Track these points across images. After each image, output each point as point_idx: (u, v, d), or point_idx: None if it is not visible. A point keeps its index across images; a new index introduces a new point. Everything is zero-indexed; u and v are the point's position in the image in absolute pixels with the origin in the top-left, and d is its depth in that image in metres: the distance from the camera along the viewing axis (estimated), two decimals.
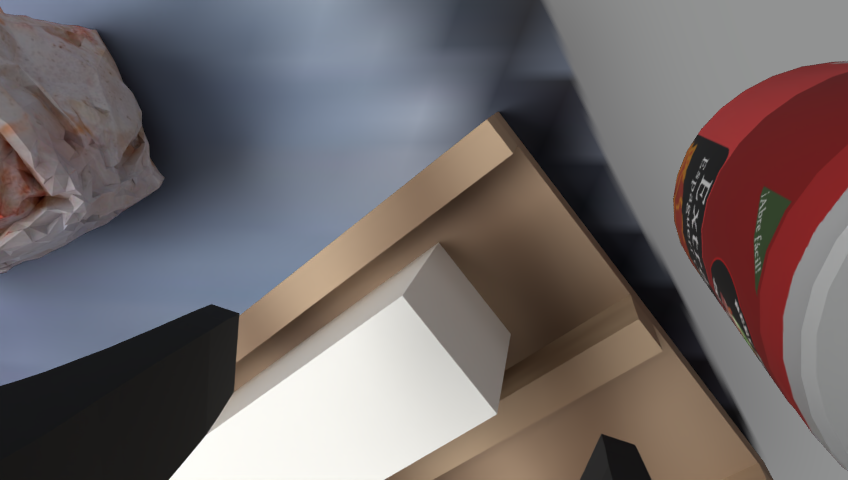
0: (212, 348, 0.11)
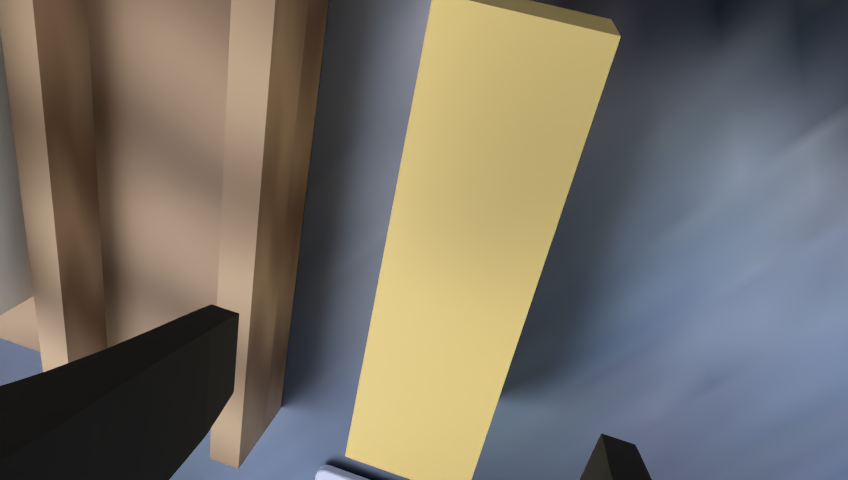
0: (212, 348, 0.11)
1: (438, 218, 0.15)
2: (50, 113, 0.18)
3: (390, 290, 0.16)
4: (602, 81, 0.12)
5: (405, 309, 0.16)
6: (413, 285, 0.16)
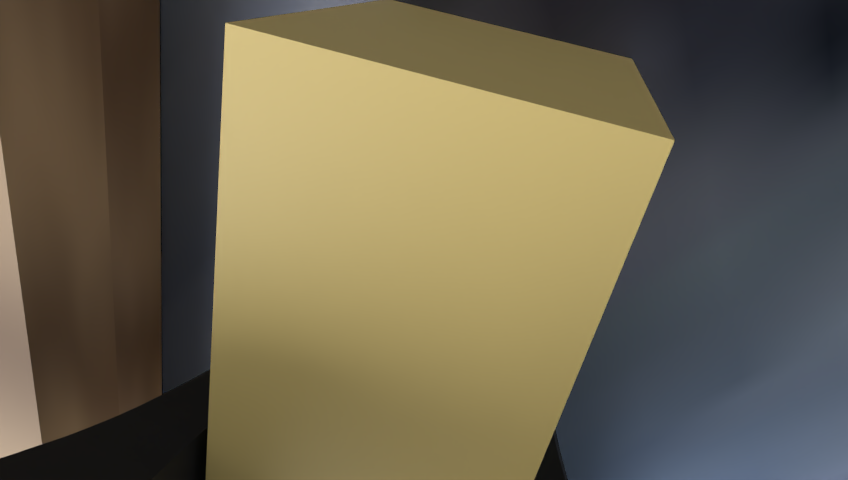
0: None
1: (293, 461, 0.07)
2: None
3: None
4: (625, 238, 0.05)
5: None
6: None
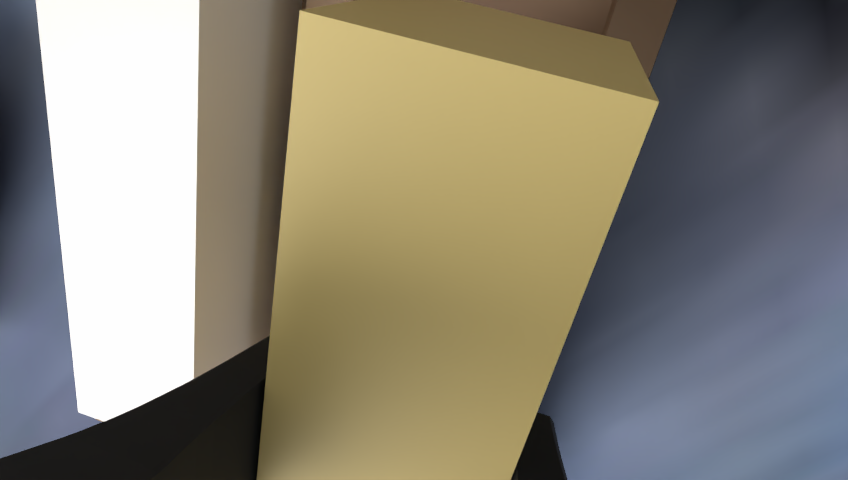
0: None
1: (341, 383, 0.09)
2: None
3: (277, 474, 0.10)
4: (621, 182, 0.06)
5: None
6: (311, 472, 0.10)
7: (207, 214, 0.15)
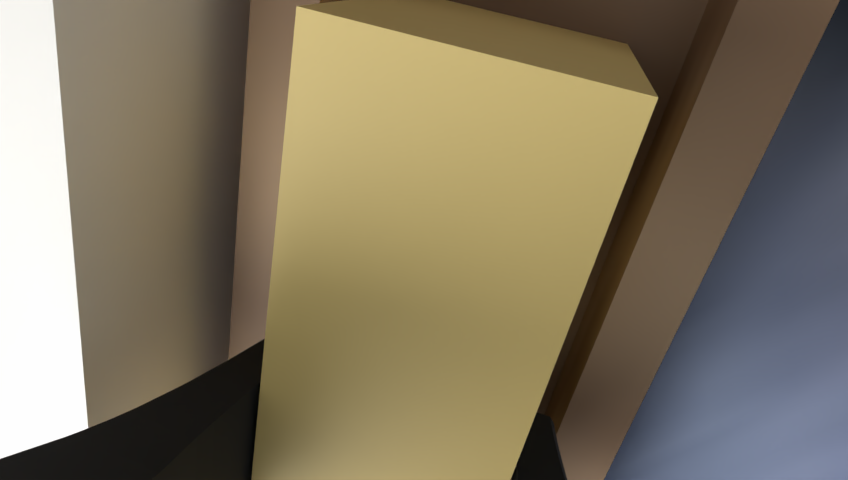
0: None
1: (337, 385, 0.09)
2: None
3: None
4: (620, 179, 0.06)
5: None
6: (306, 477, 0.10)
7: (103, 332, 0.10)
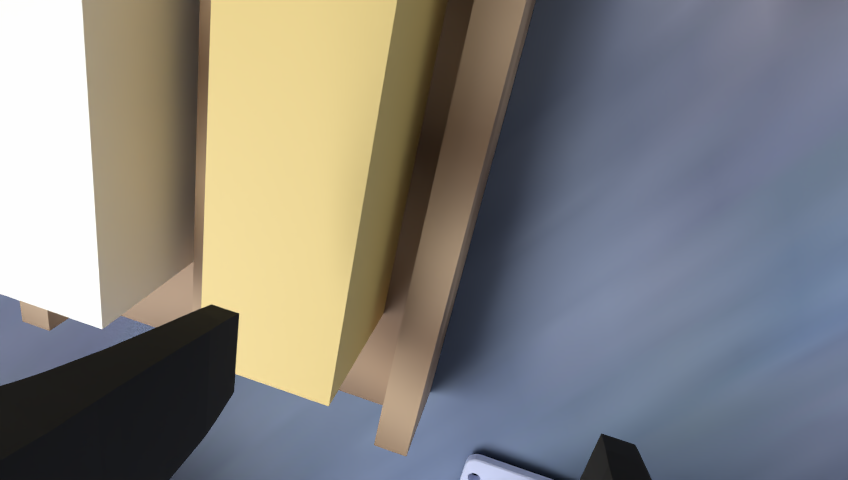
0: (212, 348, 0.11)
1: (260, 56, 0.13)
2: None
3: (220, 152, 0.14)
4: None
5: (239, 176, 0.14)
6: (243, 144, 0.14)
7: (101, 53, 0.14)
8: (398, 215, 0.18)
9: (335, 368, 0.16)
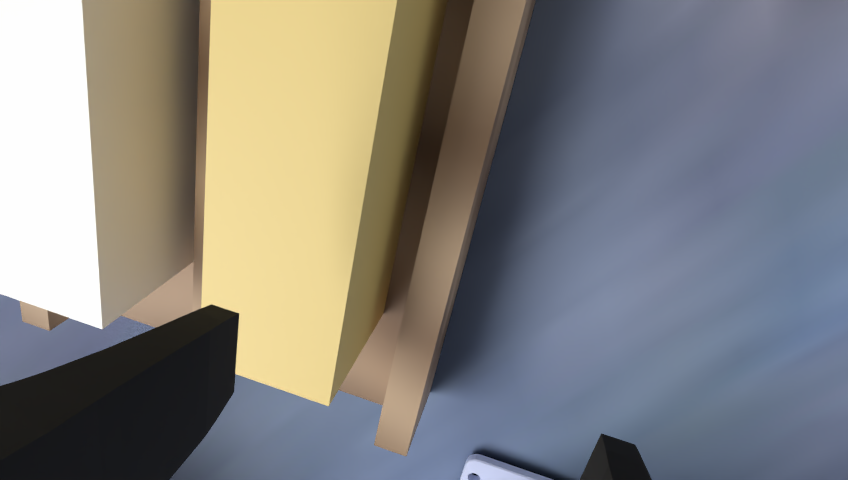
0: (212, 348, 0.11)
1: (260, 56, 0.13)
2: None
3: (220, 152, 0.14)
4: None
5: (239, 176, 0.14)
6: (243, 144, 0.14)
7: (101, 53, 0.14)
8: (398, 215, 0.18)
9: (335, 368, 0.16)
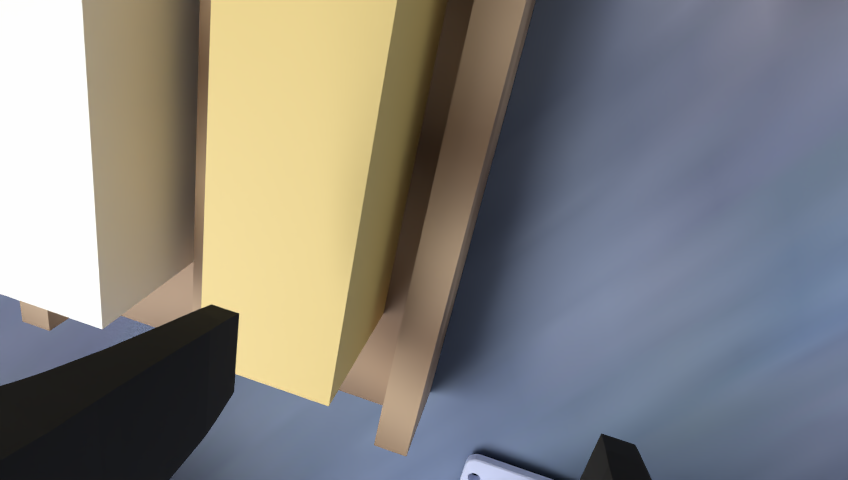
0: (212, 348, 0.11)
1: (260, 56, 0.13)
2: None
3: (220, 152, 0.14)
4: None
5: (239, 176, 0.14)
6: (243, 144, 0.14)
7: (101, 53, 0.14)
8: (398, 215, 0.18)
9: (335, 368, 0.16)
